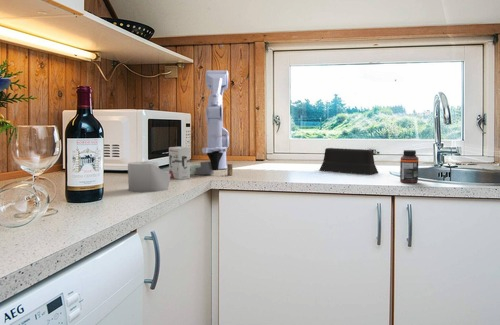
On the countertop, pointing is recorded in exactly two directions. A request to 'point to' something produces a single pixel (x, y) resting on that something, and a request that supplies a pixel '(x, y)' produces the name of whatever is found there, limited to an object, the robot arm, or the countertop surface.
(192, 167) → the pale green bar
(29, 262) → the countertop surface
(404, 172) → the supplement bottle
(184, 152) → the ink box
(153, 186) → the grey sloped wedge
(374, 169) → the black broom head
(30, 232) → the countertop surface
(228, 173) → the tan small pieces
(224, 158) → the robot arm
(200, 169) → the grey faceted block
